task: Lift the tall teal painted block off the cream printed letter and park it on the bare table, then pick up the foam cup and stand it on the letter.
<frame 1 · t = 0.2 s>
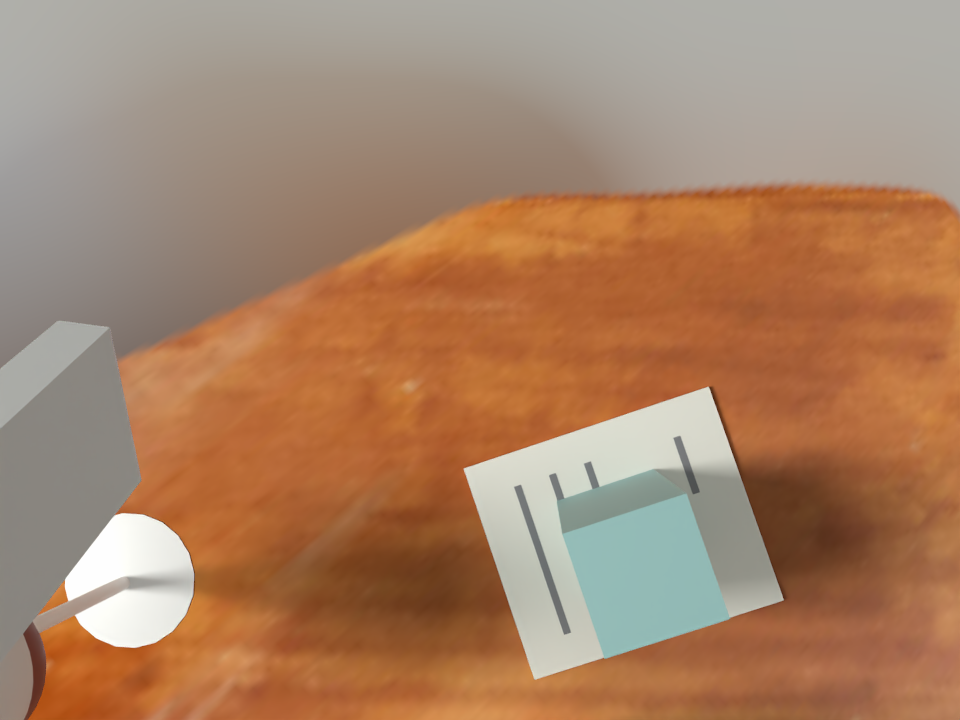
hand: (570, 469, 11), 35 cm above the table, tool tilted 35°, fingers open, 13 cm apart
wineglass: (131, 579, 47), on the table
letter: (621, 532, 45), on the table
block: (621, 533, 45), resting on letter
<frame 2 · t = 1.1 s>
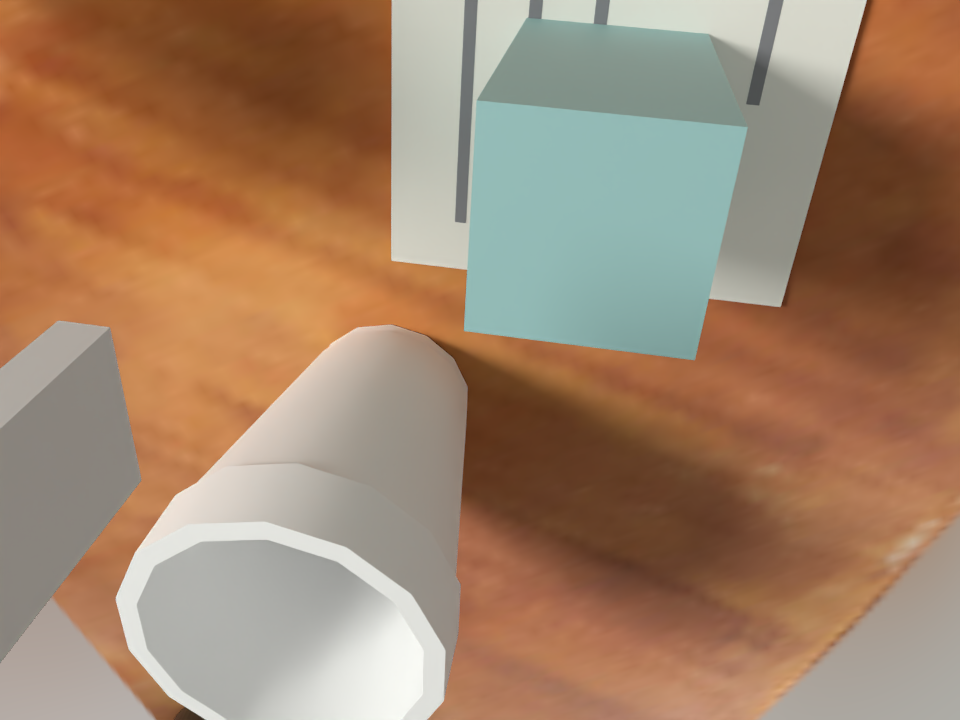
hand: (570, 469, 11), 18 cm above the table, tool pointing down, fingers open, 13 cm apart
letter: (604, 114, 27), on the table
foam cup: (393, 389, 34), on the table
block: (604, 116, 27), resting on letter
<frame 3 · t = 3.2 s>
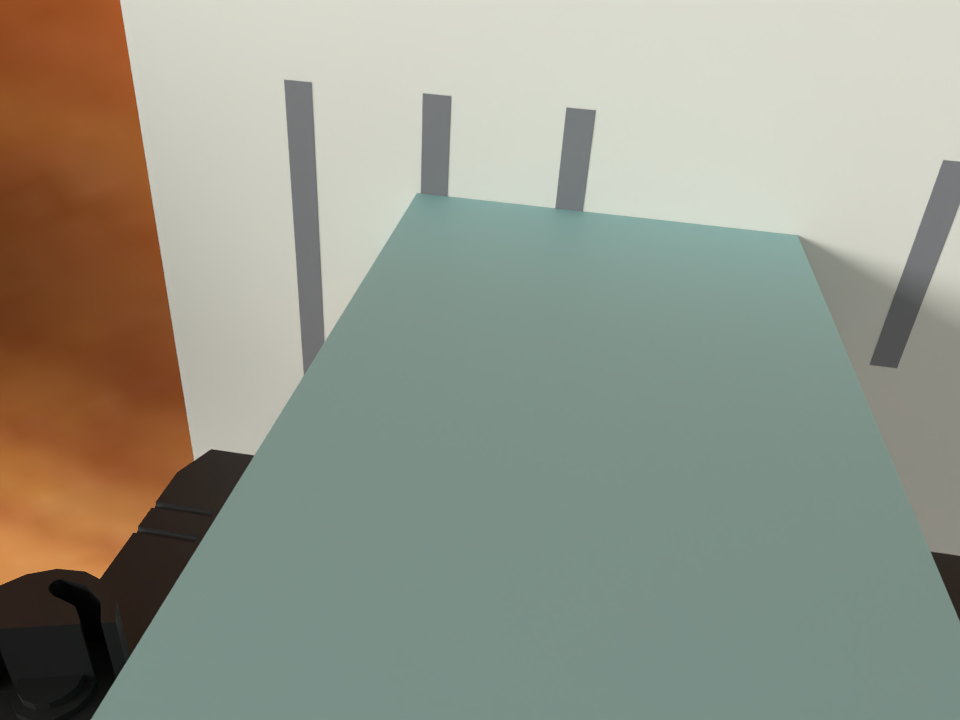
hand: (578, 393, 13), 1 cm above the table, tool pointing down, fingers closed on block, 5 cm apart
letter: (581, 365, 14), on the table
block: (580, 372, 14), resting on letter, touching gripper
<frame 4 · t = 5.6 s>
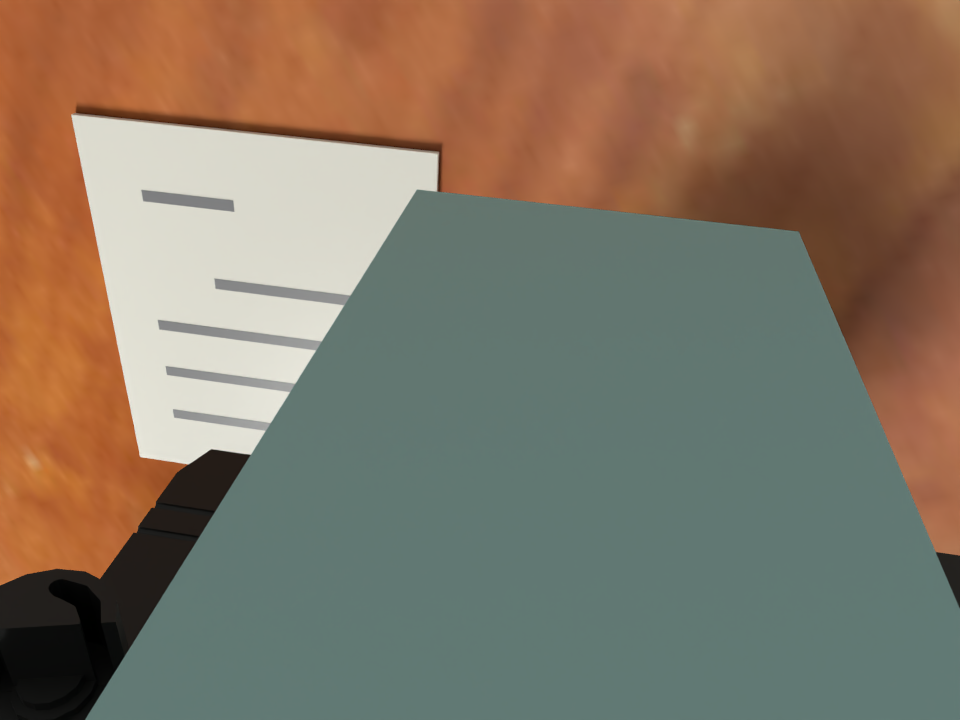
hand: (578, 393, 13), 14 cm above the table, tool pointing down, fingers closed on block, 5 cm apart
letter: (269, 324, 30), on the table
block: (580, 369, 14), point 13 cm above the table, touching gripper
when the fingers open (2 cm above the table, at t = 7.9 s): block drops 2 cm, on the table.
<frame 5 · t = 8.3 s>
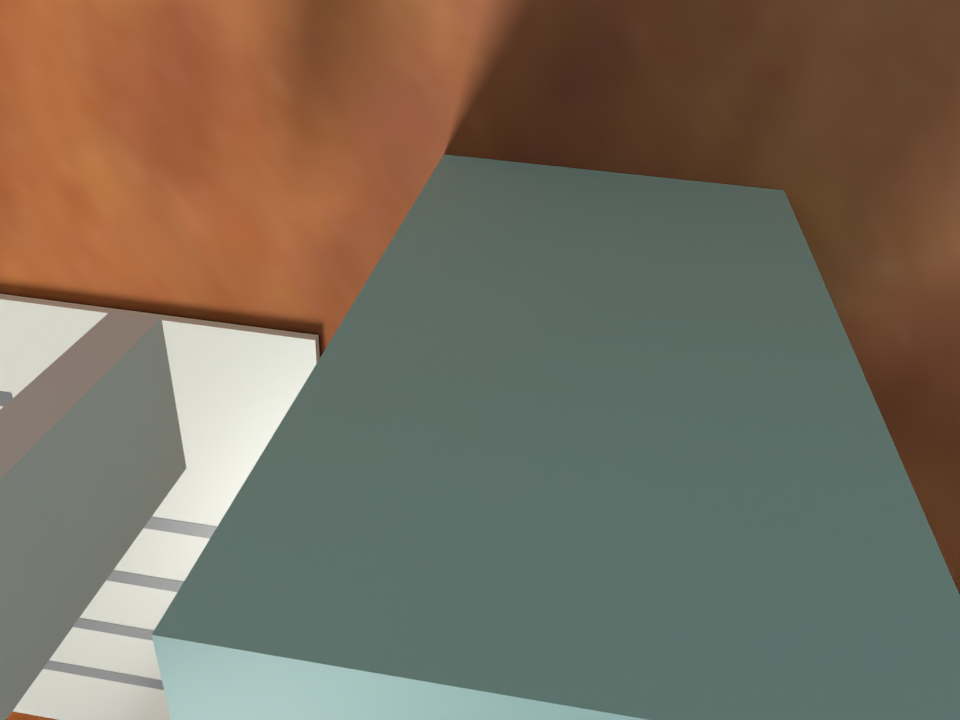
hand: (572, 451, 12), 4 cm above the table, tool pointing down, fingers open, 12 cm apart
letter: (93, 551, 20), on the table
block: (589, 319, 15), on the table
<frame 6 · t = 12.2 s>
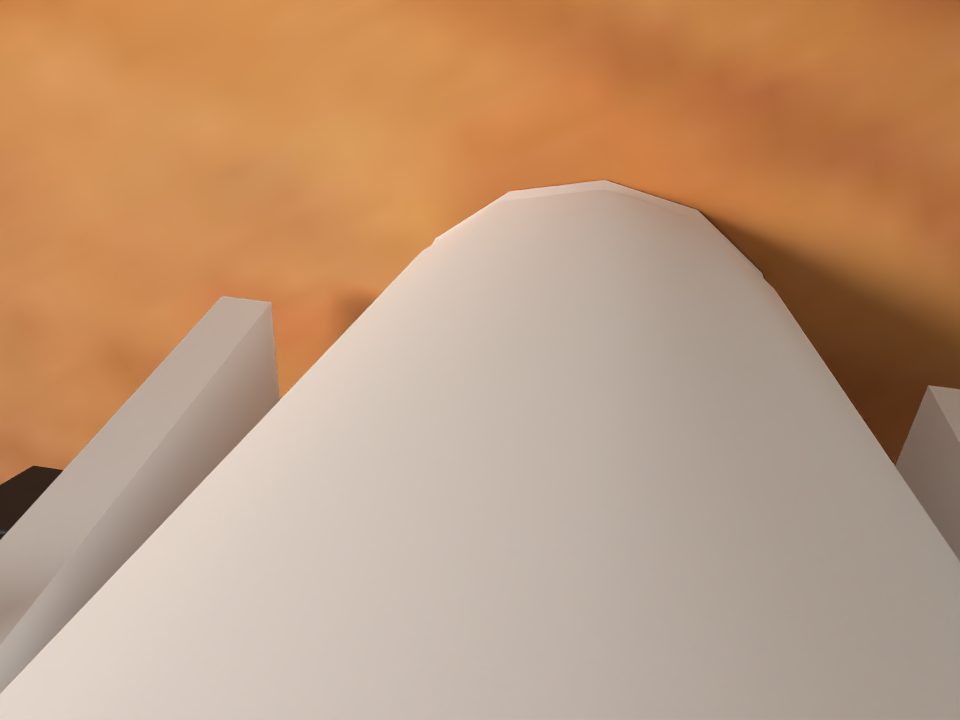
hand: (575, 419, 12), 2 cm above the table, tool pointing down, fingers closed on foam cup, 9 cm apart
foam cup: (581, 358, 14), on the table, touching gripper
when the fingers open (3 cm above the table, at t = 17.1 s): foam cup drops 2 cm, resting on letter.
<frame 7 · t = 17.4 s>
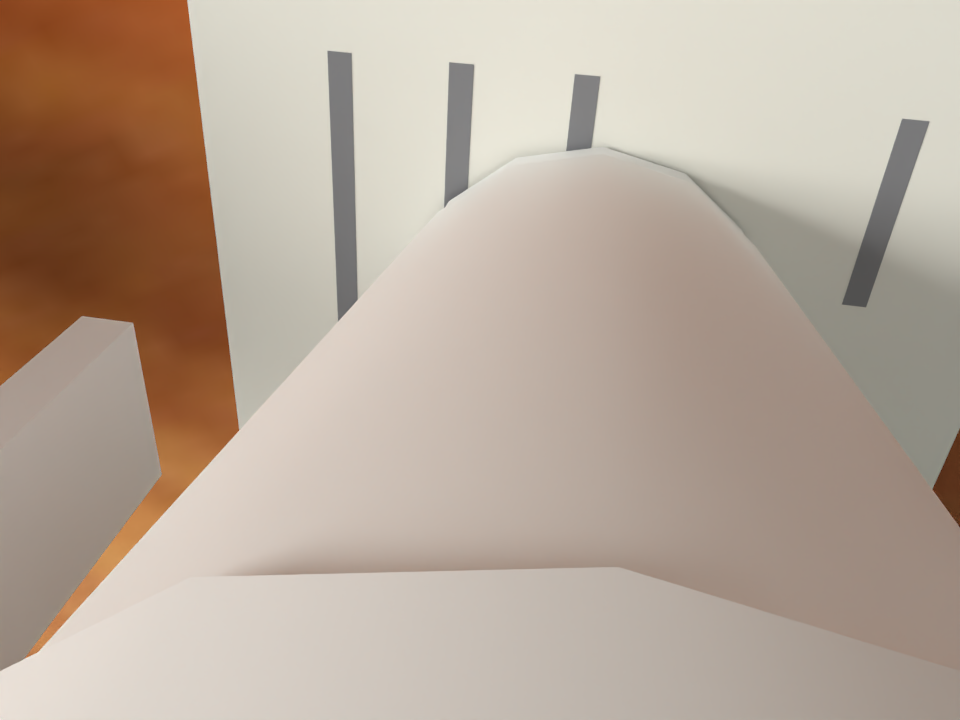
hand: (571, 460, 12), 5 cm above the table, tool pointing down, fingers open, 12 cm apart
letter: (586, 309, 15), on the table
foam cup: (580, 311, 15), resting on letter
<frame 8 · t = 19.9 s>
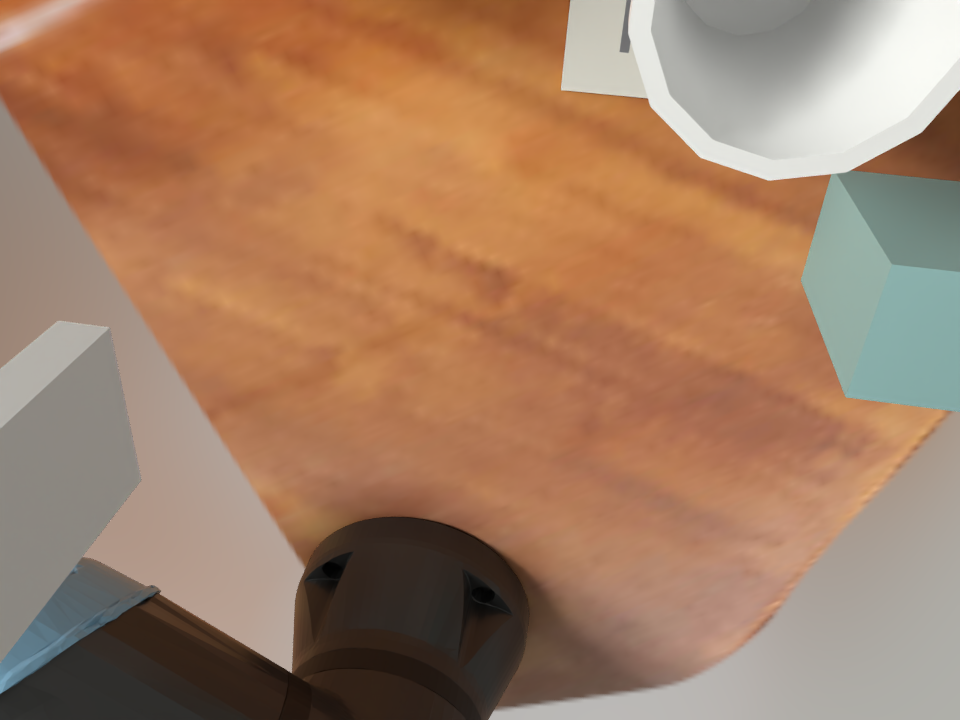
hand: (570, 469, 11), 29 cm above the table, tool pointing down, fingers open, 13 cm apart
block: (878, 233, 38), on the table
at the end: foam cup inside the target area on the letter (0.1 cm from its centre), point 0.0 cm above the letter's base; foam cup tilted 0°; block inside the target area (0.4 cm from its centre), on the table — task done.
